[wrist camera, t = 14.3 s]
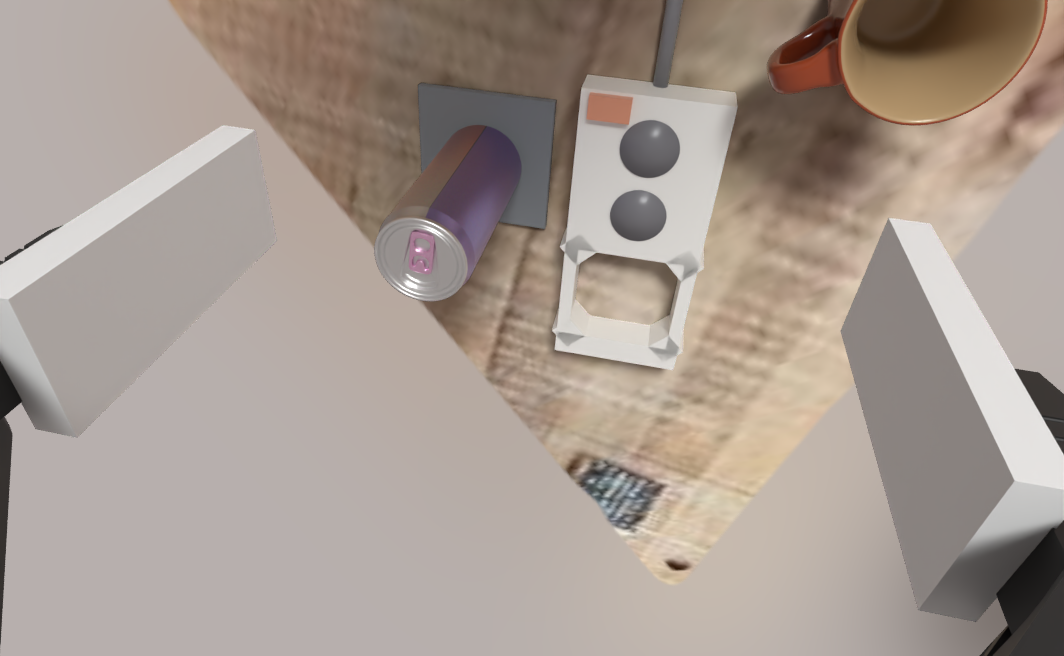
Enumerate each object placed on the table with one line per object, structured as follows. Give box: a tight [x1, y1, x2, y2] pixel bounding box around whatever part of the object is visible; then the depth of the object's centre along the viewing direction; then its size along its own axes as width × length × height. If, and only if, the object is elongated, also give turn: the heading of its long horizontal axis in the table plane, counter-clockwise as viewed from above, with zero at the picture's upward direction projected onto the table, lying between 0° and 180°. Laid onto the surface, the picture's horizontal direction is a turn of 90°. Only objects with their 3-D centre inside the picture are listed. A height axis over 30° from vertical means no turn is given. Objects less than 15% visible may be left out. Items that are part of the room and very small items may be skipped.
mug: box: [767, 0, 1048, 125], centre depth 37 cm, size 12×9×10 cm
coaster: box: [418, 83, 556, 229], centre depth 51 cm, size 10×10×1 cm
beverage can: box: [374, 125, 521, 301], centre depth 45 cm, size 6×6×15 cm
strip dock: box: [552, 0, 738, 370], centre depth 49 cm, size 30×11×4 cm, turn 177°
